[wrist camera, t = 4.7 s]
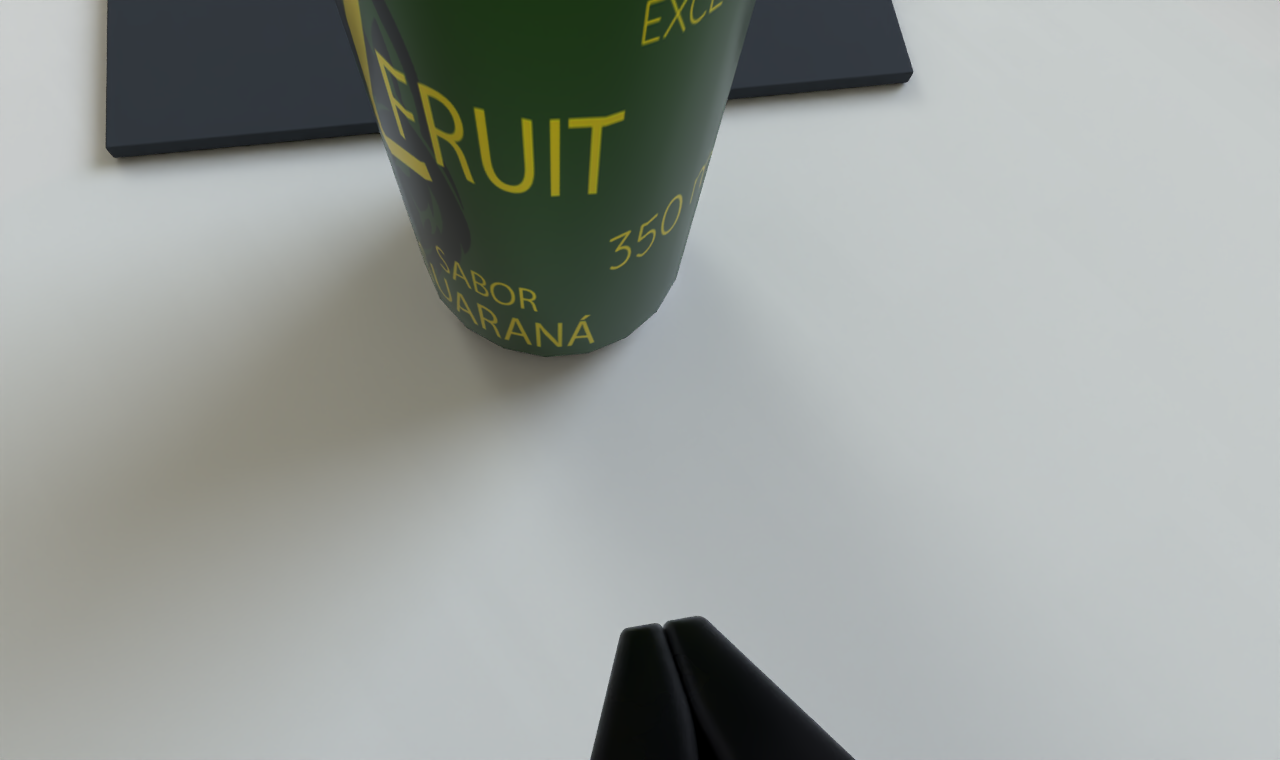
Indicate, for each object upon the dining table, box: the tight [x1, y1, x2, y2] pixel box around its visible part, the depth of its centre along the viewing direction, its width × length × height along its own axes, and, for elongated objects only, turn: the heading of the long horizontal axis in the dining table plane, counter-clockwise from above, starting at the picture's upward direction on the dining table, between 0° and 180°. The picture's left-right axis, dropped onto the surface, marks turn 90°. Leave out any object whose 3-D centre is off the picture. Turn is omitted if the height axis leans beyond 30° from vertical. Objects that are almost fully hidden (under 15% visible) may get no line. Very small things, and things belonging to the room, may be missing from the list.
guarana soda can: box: [335, 0, 756, 357], centre depth 13 cm, size 5×5×12 cm
